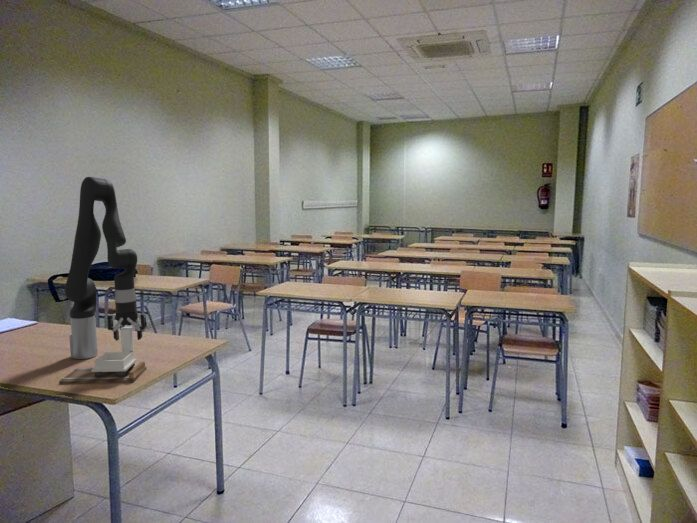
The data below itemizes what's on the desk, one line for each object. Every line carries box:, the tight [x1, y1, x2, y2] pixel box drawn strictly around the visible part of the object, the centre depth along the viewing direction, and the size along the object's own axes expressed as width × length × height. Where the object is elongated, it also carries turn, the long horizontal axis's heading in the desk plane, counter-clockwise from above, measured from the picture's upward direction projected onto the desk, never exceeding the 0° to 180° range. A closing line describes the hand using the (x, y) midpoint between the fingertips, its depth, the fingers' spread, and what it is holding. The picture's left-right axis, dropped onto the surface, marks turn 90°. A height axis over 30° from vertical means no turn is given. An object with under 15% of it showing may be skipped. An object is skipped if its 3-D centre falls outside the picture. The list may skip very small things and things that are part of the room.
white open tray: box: [91, 351, 138, 378], centre depth 186 cm, size 12×12×6 cm
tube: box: [120, 326, 135, 352], centre depth 198 cm, size 4×4×15 cm
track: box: [58, 361, 147, 385], centre depth 186 cm, size 26×14×3 cm, turn 94°
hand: (128, 339), depth 198 cm, fingers open, 8 cm apart
